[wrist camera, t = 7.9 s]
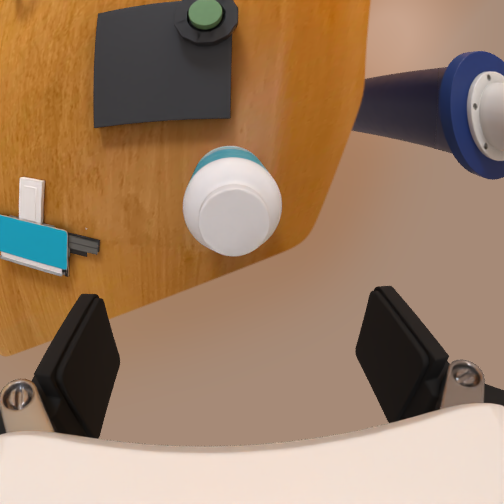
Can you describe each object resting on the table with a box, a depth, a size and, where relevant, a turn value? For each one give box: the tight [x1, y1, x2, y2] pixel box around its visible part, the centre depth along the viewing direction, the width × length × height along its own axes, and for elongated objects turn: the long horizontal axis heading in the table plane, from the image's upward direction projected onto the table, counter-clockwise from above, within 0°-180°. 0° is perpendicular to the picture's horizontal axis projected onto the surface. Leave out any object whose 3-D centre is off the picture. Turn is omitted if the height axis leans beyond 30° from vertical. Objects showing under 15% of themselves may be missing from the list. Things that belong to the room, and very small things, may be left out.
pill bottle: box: [183, 146, 282, 256], centre depth 26 cm, size 8×7×14 cm
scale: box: [94, 0, 238, 128], centre depth 25 cm, size 14×14×3 cm
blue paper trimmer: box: [0, 177, 100, 277], centre depth 31 cm, size 20×12×2 cm, turn 74°
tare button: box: [188, 0, 222, 30], centre depth 22 cm, size 3×3×2 cm
